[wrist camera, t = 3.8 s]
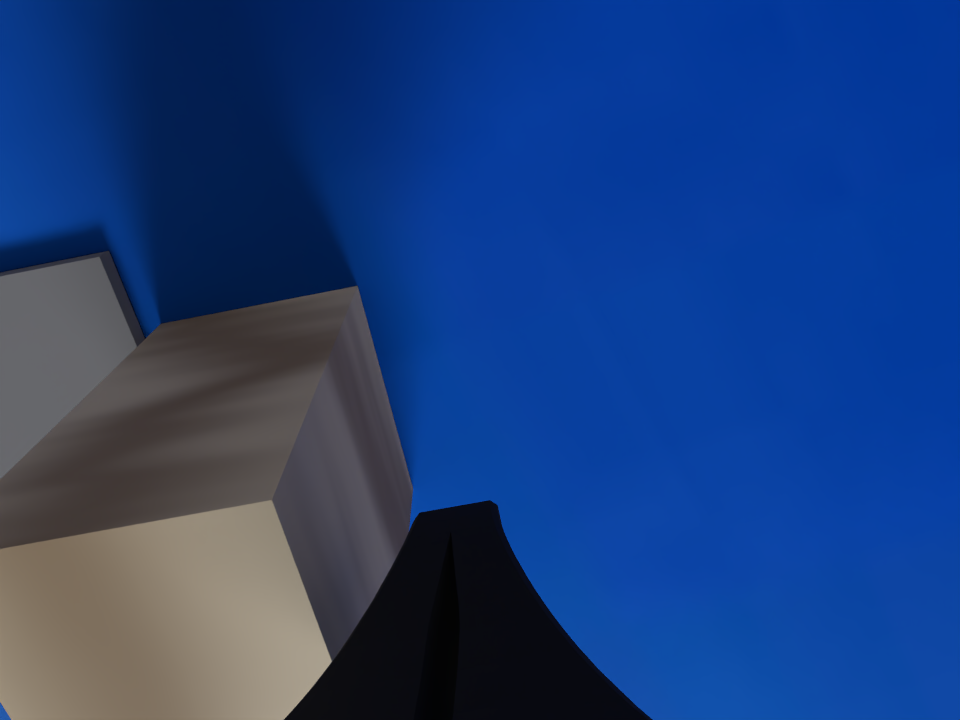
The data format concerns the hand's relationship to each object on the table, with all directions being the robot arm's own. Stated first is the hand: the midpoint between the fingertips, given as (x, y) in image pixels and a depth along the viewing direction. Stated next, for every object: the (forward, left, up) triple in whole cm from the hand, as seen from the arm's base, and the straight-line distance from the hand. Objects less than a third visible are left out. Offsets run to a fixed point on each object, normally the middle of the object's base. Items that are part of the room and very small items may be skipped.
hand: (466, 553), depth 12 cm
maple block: (+4, 0, -7) cm, 8 cm away
